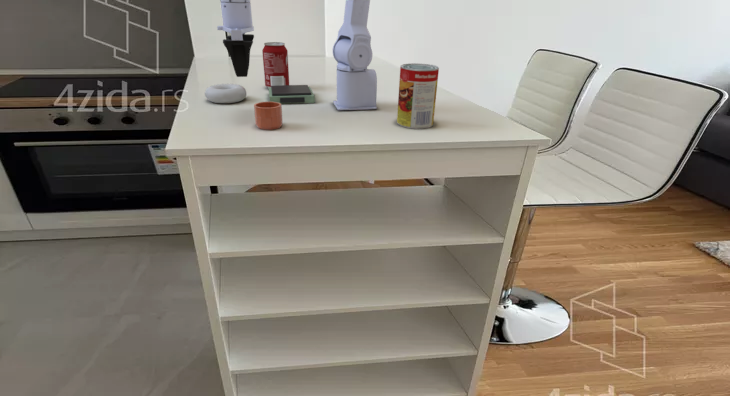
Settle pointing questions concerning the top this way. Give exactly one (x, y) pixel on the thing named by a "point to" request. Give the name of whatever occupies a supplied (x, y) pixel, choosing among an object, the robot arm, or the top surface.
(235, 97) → the donut
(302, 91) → the scale
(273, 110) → the orange cup
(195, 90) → the top surface
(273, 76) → the soda can
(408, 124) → the canned food
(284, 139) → the top surface
